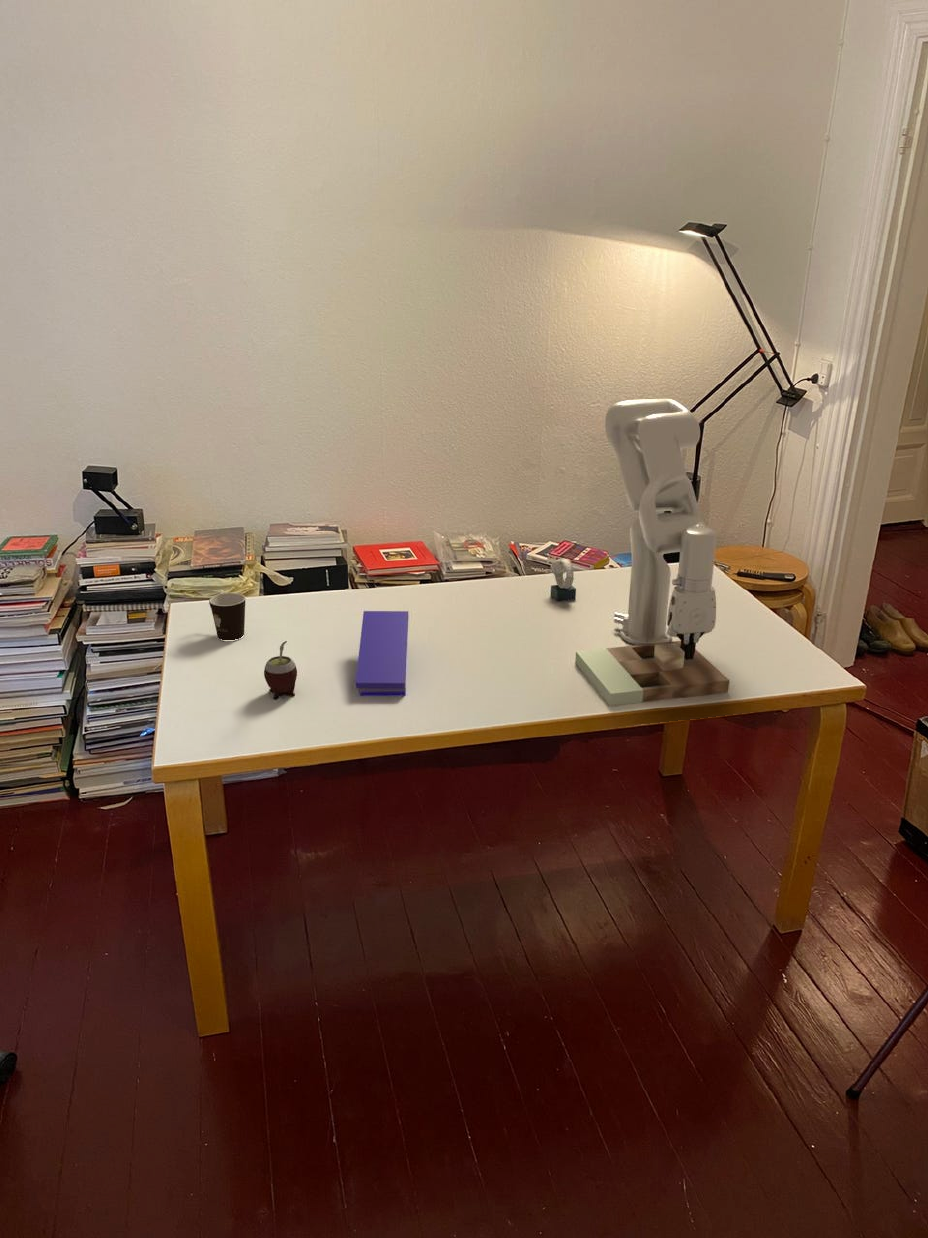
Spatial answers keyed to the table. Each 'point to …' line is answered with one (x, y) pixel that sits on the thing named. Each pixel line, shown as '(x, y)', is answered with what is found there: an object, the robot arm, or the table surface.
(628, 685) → the pad
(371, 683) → the layered purple block
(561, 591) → the white knot sculpture
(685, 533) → the robot arm
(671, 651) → the maple block
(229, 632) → the coffee mug
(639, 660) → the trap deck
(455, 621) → the table surface
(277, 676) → the mate gourd
